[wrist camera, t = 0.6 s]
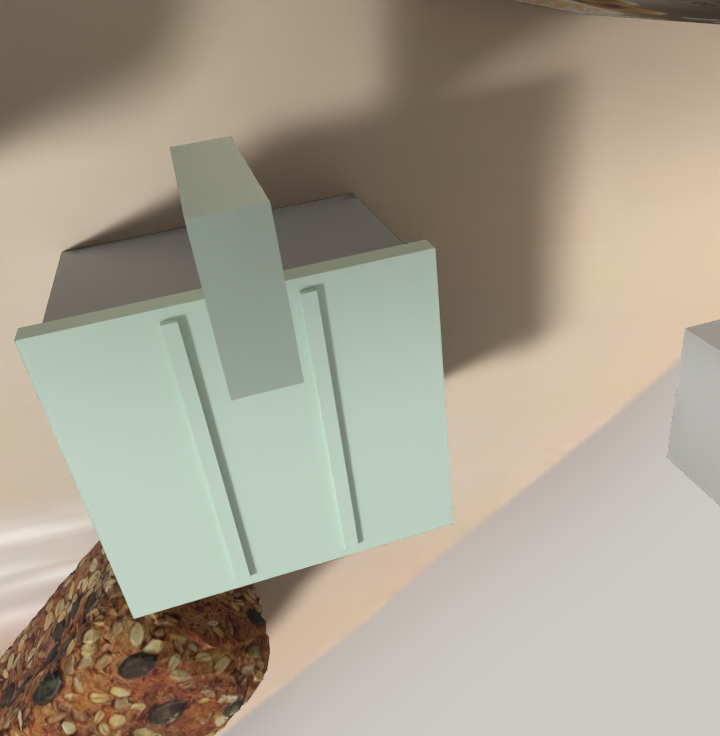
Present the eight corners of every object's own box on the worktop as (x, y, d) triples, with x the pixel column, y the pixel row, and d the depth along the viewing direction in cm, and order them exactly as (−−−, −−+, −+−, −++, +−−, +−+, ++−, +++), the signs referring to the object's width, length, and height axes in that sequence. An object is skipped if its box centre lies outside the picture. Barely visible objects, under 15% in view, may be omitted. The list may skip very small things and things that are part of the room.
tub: (140, 470, 38) (141, 590, 31) (61, 252, 32) (38, 337, 24) (379, 408, 41) (434, 505, 33) (353, 193, 34) (414, 254, 27)
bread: (95, 745, 48) (86, 905, 40) (-59, 707, 43) (-107, 884, 34) (262, 565, 45) (292, 700, 36) (117, 499, 39) (112, 640, 31)
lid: (133, 601, 31) (133, 773, 24) (-43, 185, 21) (-124, 281, 15) (445, 510, 34) (521, 642, 27) (416, 102, 24) (525, 151, 17)
